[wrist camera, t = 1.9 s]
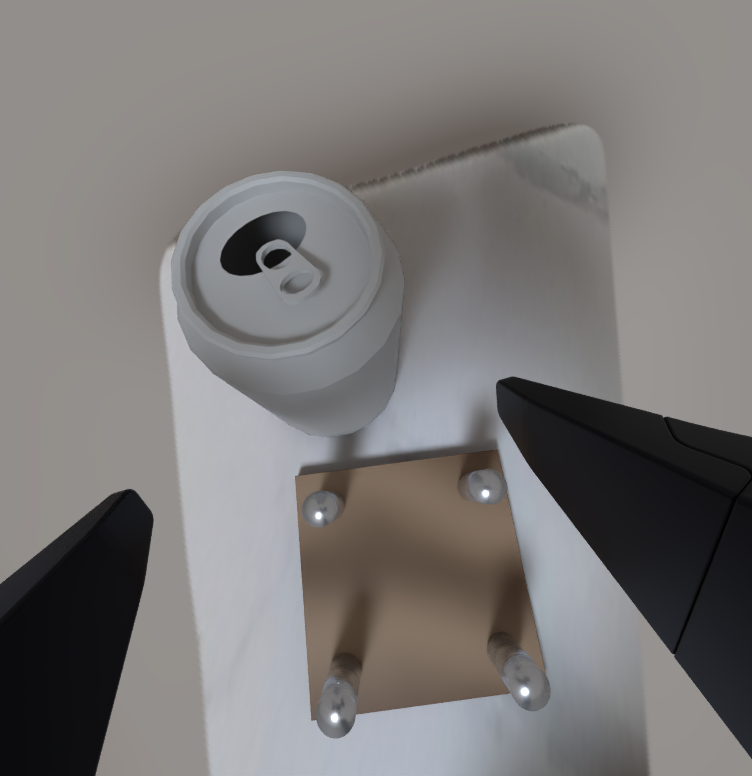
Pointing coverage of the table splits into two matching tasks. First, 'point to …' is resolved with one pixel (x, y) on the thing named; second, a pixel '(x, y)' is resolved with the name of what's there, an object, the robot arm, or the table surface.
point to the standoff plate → (414, 589)
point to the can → (293, 299)
